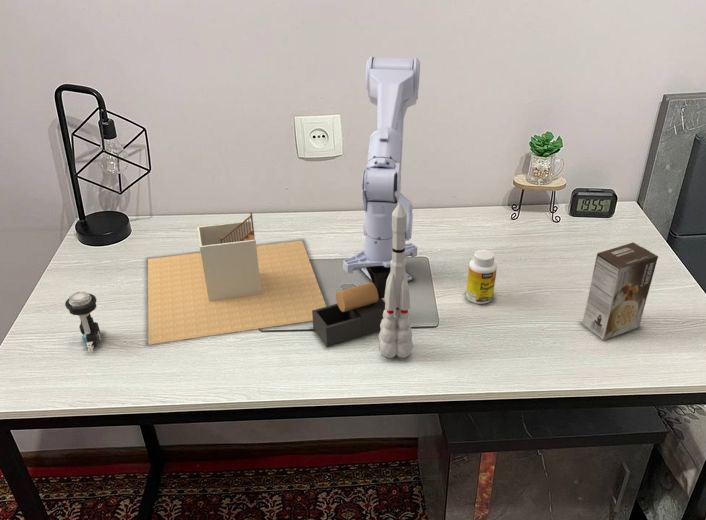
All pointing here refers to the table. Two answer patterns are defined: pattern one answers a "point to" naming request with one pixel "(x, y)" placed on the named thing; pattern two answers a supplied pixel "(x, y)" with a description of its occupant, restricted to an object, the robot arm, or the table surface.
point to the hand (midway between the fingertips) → (380, 295)
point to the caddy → (347, 322)
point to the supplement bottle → (481, 277)
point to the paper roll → (357, 297)
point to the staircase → (230, 286)
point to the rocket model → (397, 296)
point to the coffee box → (619, 290)
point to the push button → (85, 316)
